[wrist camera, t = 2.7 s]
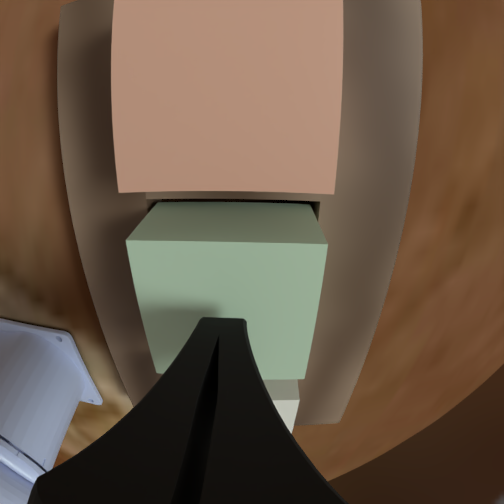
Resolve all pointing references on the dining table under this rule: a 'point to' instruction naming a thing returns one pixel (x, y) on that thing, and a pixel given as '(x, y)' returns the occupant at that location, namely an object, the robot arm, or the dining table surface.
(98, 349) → the dining table surface
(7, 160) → the dining table surface
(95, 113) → the brown tray
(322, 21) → the terracotta button
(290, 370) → the sage button
